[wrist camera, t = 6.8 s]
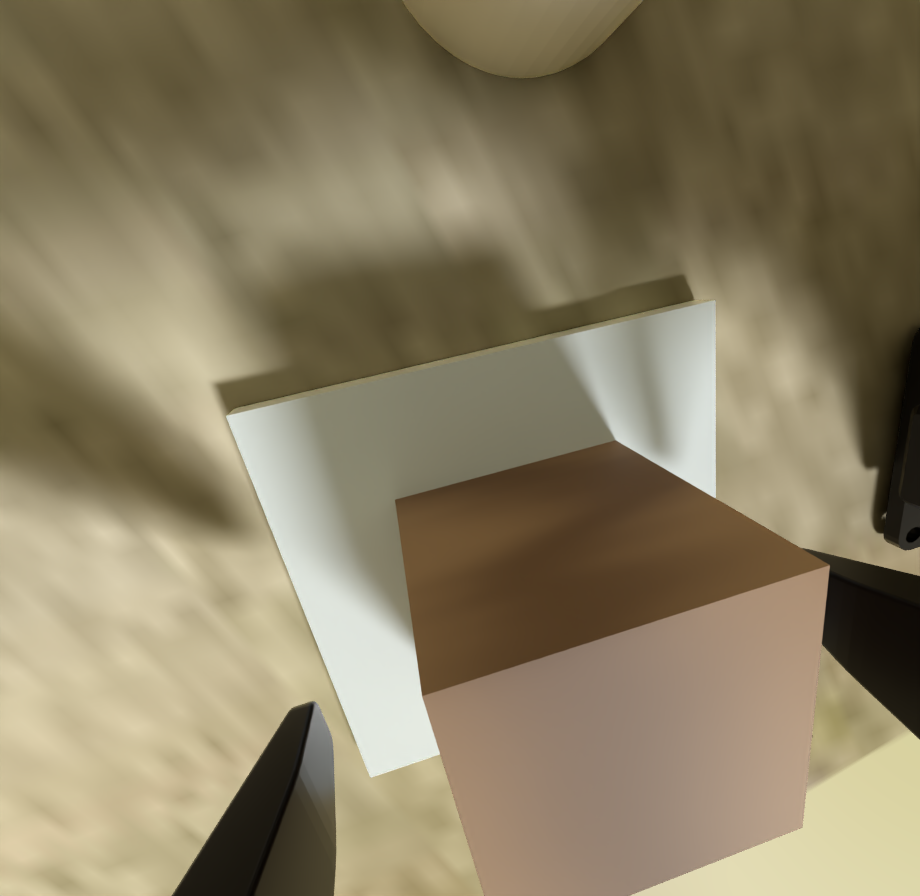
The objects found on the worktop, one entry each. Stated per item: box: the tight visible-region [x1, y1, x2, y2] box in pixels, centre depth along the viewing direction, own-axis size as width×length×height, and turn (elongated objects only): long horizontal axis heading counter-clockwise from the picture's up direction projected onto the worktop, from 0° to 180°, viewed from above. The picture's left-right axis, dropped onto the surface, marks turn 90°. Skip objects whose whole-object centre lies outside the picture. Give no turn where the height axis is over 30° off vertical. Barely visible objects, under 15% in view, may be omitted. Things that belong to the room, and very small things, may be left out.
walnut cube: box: [395, 440, 830, 896], centre depth 8 cm, size 5×5×5 cm
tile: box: [226, 300, 716, 778], centre depth 11 cm, size 10×10×1 cm
